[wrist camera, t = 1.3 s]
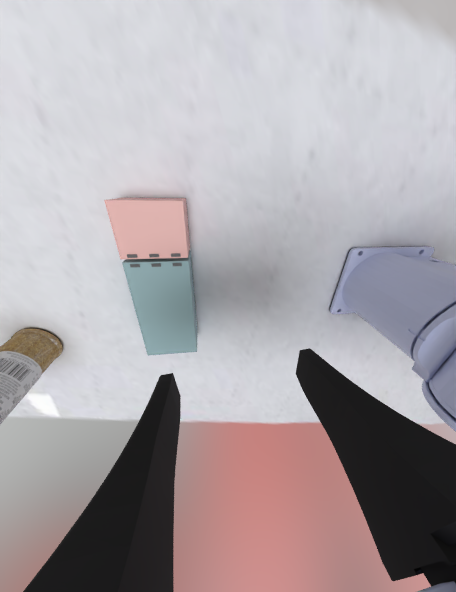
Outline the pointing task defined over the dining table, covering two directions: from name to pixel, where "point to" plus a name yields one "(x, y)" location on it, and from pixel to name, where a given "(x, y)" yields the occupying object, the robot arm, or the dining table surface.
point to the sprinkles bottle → (24, 365)
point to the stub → (150, 227)
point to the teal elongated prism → (164, 303)
